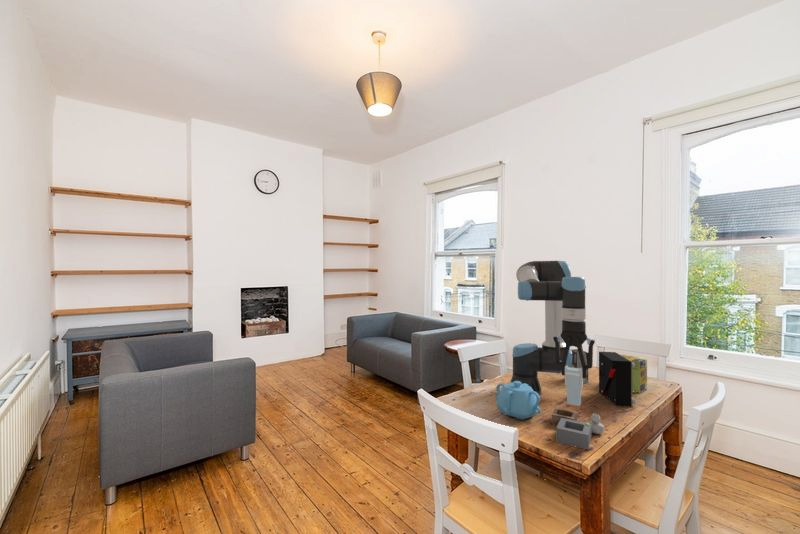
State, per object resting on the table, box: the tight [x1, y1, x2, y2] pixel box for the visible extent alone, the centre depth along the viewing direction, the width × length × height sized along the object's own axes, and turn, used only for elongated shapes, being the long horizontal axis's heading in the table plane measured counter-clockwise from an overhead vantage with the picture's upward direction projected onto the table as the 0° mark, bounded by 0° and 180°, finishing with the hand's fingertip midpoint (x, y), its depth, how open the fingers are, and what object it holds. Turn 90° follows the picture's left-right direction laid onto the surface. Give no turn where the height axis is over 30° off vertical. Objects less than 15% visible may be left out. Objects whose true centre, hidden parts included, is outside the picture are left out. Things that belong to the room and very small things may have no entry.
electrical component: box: [598, 351, 636, 408], centre depth 165 cm, size 18×10×20 cm, turn 168°
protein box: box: [618, 353, 648, 394], centre depth 181 cm, size 10×15×16 cm
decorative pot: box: [495, 381, 542, 421], centre depth 148 cm, size 16×16×14 cm
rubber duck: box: [587, 411, 605, 435], centre depth 132 cm, size 5×7×8 cm
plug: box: [566, 367, 582, 407], centre depth 126 cm, size 4×4×12 cm
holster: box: [551, 407, 578, 427], centre depth 139 cm, size 8×8×4 cm
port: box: [555, 418, 592, 450], centre depth 126 cm, size 10×10×5 cm
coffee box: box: [570, 348, 589, 384], centre depth 192 cm, size 9×6×16 cm
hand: (574, 385), depth 126 cm, fingers closed on plug, 4 cm apart
